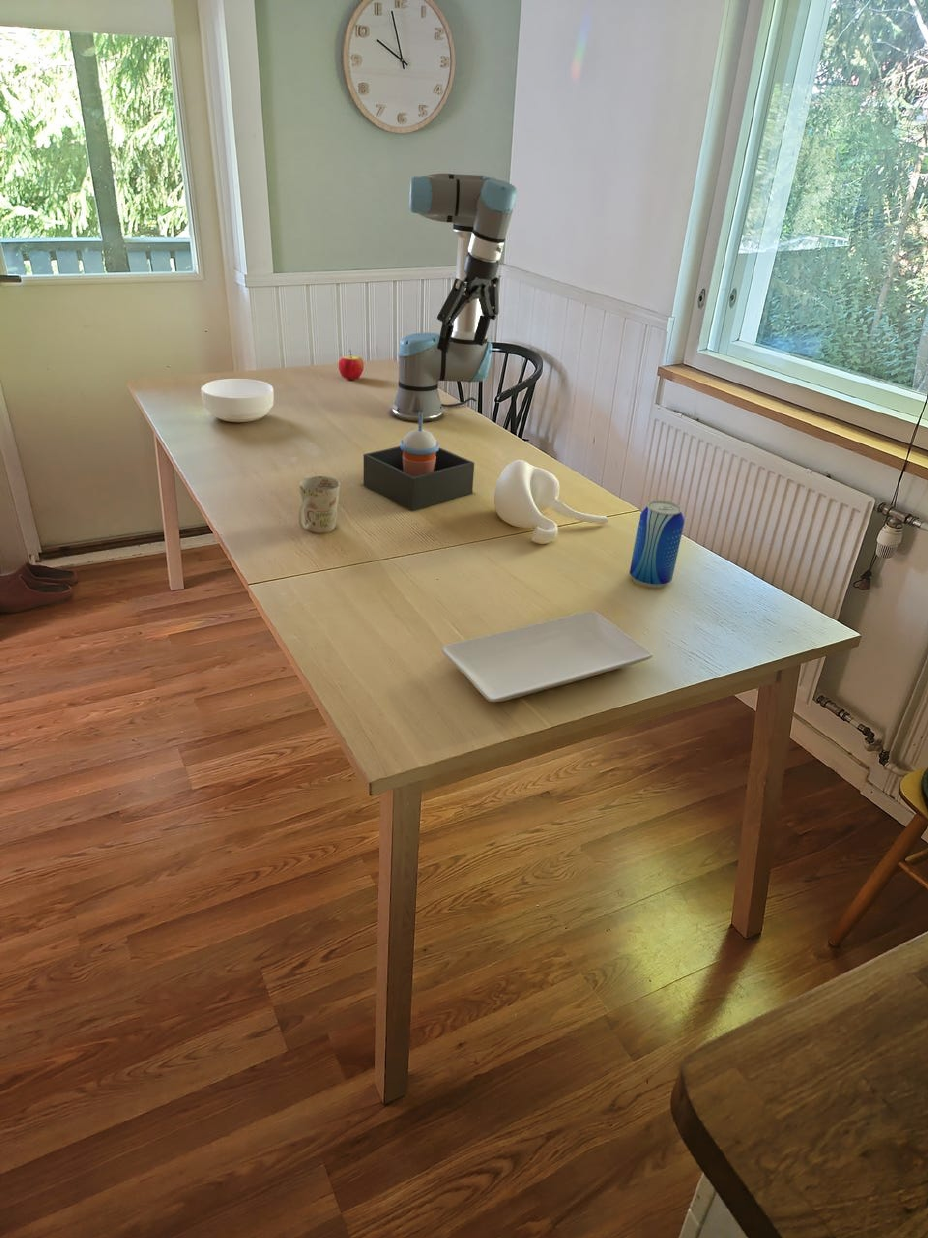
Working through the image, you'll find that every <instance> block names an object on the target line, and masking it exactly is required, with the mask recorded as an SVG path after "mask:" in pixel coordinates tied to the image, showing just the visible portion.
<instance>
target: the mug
mask: <svg viewBox="0 0 928 1238" xmlns="http://www.w3.org/2000/svg"><path fill="white" fill-rule="evenodd" d="M340 490H341V482H340V481H339V480H338V479H336V478H334V477H330V476H326V475H313V476H309V477H305V478H303V479H302V480H300V482H299V491H300V496H301V505H300V507H299V511H298V524H299V527H300V528H301V529H302V530H308V531H310V532H313V533H318V534H324V533H329V532H332V531H334V530H335V529H336V524H337V517H338V516H337V515H338V507H339V498H340V493H341V492H340ZM304 520H305V521H304Z"/></svg>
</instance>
